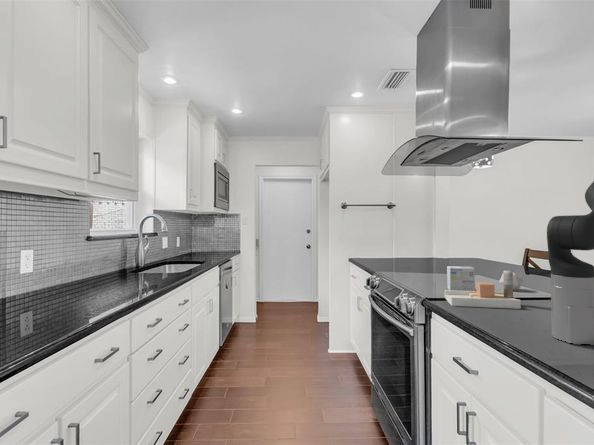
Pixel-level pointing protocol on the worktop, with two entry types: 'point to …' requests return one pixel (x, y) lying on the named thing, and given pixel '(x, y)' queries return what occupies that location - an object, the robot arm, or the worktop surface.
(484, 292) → the block
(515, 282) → the die
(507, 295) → the plate with upright post
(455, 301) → the tray
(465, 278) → the light bulb box
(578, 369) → the worktop surface
